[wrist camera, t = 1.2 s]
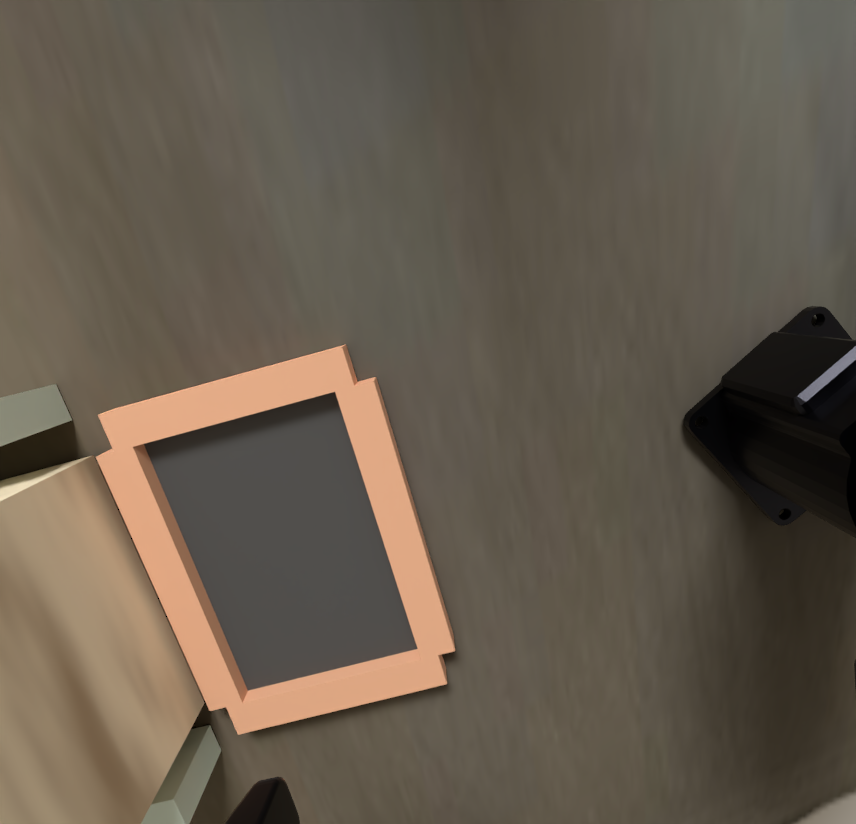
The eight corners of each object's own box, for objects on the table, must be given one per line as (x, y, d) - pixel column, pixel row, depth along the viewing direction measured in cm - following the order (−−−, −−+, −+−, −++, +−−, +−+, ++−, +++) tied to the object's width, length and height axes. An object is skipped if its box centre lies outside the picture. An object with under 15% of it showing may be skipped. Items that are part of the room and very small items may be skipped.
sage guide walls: (55, 384, 19) (-22, 403, 16) (221, 750, 23) (187, 828, 20) (-157, 443, 20) (-277, 474, 16) (42, 793, 24) (-21, 876, 20)
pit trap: (364, 339, 19) (361, 341, 18) (462, 663, 23) (464, 679, 22) (95, 413, 20) (78, 420, 19) (230, 719, 23) (222, 738, 22)
